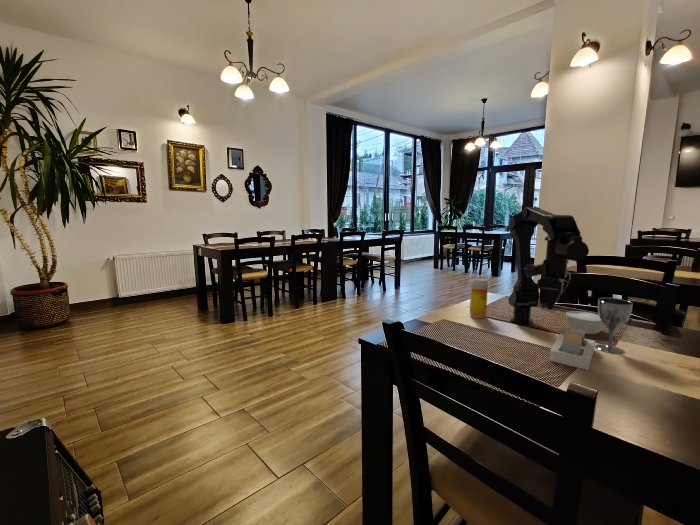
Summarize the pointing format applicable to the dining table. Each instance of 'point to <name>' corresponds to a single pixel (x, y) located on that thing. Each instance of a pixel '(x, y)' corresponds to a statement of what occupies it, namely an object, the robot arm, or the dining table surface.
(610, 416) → the dining table surface
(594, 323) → the ramekin
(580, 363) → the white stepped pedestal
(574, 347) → the plug
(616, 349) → the wine glass
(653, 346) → the dining table surface
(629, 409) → the dining table surface
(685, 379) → the dining table surface
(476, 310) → the yellow bottle
